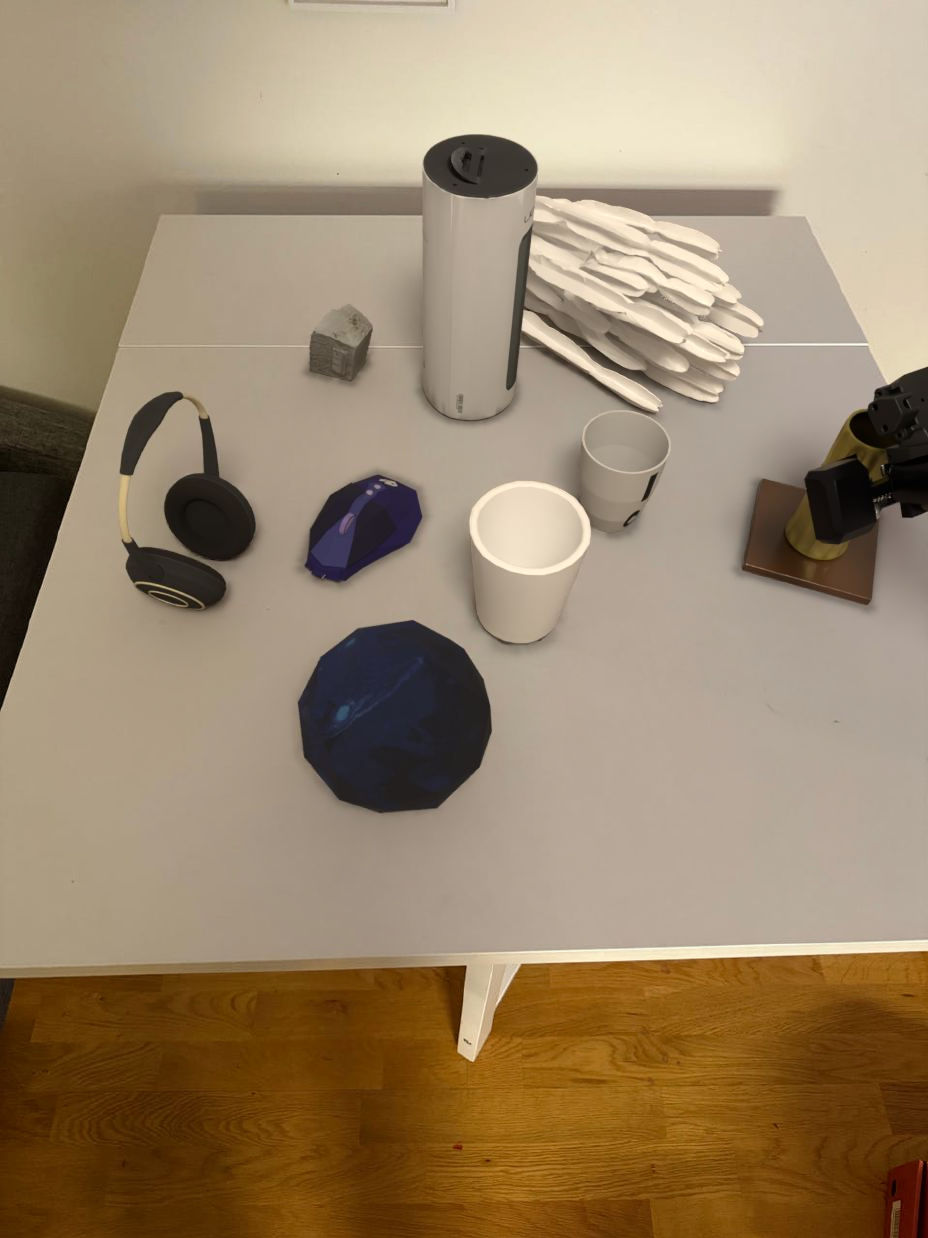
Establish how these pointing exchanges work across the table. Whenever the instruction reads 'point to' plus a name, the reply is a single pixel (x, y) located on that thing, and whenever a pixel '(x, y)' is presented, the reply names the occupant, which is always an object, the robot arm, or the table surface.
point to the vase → (850, 440)
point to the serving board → (786, 564)
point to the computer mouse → (361, 526)
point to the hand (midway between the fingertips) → (834, 477)
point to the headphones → (185, 517)
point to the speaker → (475, 270)
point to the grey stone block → (340, 343)
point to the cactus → (634, 299)
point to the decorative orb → (395, 718)
